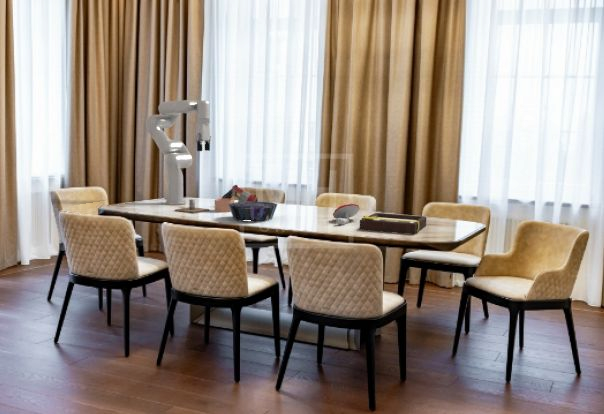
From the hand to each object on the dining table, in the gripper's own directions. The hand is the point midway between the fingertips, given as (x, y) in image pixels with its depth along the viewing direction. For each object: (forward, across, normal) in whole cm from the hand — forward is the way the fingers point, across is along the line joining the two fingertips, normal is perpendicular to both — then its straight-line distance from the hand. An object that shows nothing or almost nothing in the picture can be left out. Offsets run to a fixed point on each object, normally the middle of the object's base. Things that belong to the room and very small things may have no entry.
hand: (203, 150), depth 391 cm
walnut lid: (+34, +17, +1) cm, 38 cm away
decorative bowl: (+36, +25, +42) cm, 61 cm away
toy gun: (+35, -13, +16) cm, 41 cm away
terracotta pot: (+35, +9, +17) cm, 40 cm away
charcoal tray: (+34, +17, +1) cm, 38 cm away
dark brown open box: (+37, +22, +118) cm, 126 cm away
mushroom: (+36, +14, +89) cm, 97 cm away
